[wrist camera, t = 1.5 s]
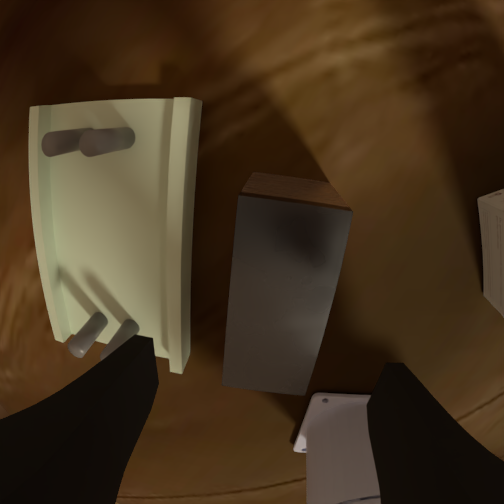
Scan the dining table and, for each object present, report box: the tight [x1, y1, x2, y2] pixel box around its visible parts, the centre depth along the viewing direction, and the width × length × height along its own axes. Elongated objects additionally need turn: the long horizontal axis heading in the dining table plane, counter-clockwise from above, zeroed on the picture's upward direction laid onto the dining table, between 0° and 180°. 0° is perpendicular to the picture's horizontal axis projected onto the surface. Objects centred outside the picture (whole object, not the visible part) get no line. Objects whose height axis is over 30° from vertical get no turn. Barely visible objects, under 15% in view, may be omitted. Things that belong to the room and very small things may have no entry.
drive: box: [222, 172, 353, 396], centre depth 15 cm, size 4×9×6 cm, turn 174°
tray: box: [29, 97, 203, 374], centre depth 16 cm, size 10×16×4 cm, turn 174°
